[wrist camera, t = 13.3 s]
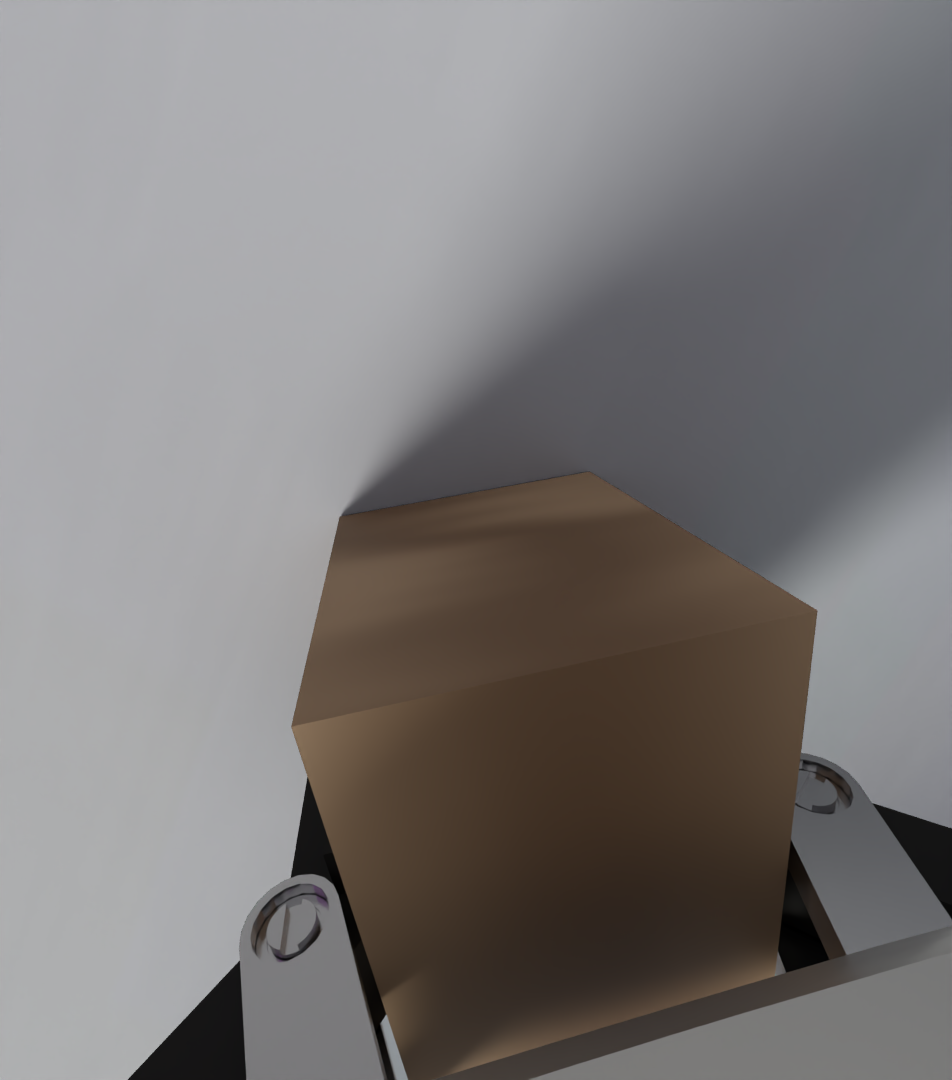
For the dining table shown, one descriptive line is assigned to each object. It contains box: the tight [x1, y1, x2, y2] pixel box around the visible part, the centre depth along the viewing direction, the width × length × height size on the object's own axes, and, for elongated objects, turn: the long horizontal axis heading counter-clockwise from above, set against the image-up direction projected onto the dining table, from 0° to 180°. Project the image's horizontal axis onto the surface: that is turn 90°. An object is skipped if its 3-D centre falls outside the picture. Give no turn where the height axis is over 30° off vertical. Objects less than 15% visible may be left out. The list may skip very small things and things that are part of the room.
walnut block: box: [291, 472, 817, 1080], centre depth 9 cm, size 5×7×6 cm
